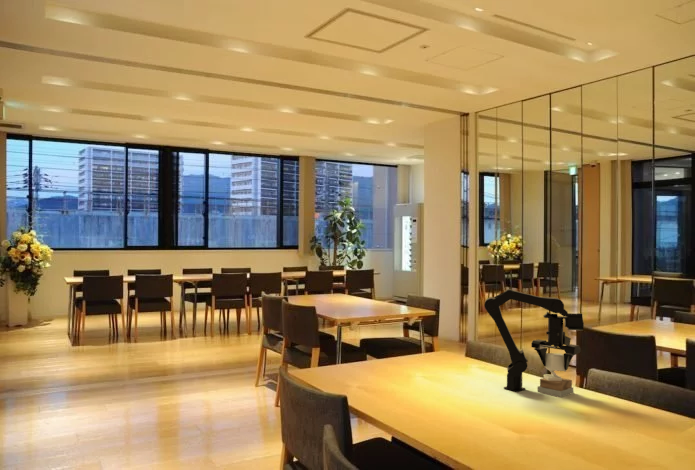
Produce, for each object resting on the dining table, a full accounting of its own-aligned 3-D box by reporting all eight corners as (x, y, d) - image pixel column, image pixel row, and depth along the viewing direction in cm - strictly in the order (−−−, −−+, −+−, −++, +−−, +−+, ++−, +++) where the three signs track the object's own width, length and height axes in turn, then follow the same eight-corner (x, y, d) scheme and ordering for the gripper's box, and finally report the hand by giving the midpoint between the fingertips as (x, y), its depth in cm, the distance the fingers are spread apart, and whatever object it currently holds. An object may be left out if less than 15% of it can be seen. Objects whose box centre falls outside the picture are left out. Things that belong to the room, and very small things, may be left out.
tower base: (560, 399, 223) (560, 391, 223) (537, 393, 231) (537, 386, 231) (573, 395, 230) (573, 387, 230) (550, 389, 237) (550, 382, 237)
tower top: (561, 391, 224) (561, 383, 224) (540, 386, 230) (540, 379, 230) (571, 387, 230) (571, 379, 230) (550, 383, 237) (550, 375, 237)
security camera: (566, 381, 228) (566, 356, 228) (548, 380, 228) (549, 355, 228) (560, 377, 234) (560, 353, 234) (543, 377, 234) (543, 352, 234)
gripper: (587, 330, 229) (587, 369, 229) (545, 324, 243) (544, 361, 243) (573, 333, 222) (573, 373, 221) (530, 327, 236) (530, 364, 236)
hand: (555, 367), depth 231 cm, fingers open, 9 cm apart
